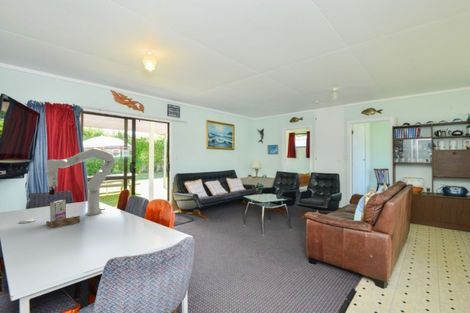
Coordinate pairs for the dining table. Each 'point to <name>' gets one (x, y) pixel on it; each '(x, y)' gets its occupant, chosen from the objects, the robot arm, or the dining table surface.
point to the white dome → (27, 220)
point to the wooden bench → (63, 221)
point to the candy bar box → (57, 210)
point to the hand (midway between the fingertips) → (51, 194)
